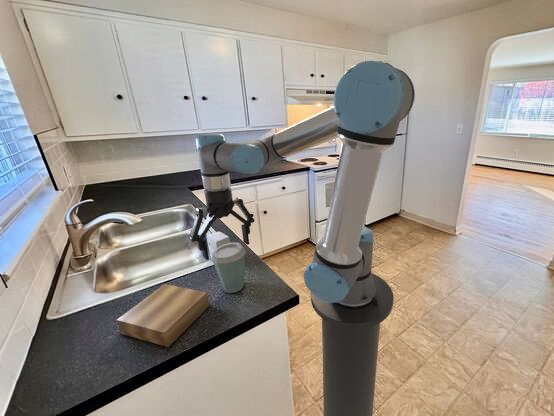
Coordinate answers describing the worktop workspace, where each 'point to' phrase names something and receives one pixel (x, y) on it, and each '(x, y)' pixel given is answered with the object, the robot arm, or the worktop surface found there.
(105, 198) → the worktop surface
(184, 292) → the maple block
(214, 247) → the small box
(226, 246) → the disposable coffee cup
